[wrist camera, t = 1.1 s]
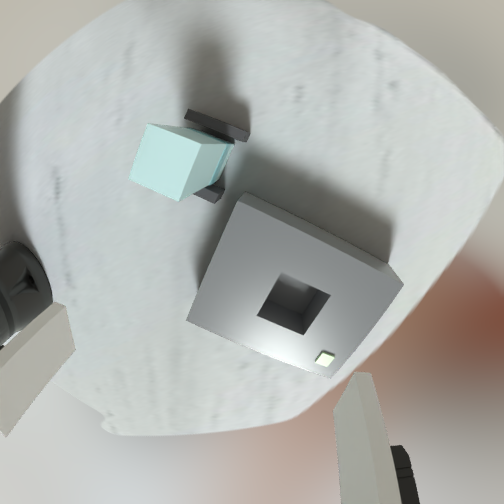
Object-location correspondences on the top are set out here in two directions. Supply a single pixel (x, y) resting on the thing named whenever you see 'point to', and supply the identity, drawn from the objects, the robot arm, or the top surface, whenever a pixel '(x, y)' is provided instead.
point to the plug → (178, 160)
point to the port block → (291, 289)
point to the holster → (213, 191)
